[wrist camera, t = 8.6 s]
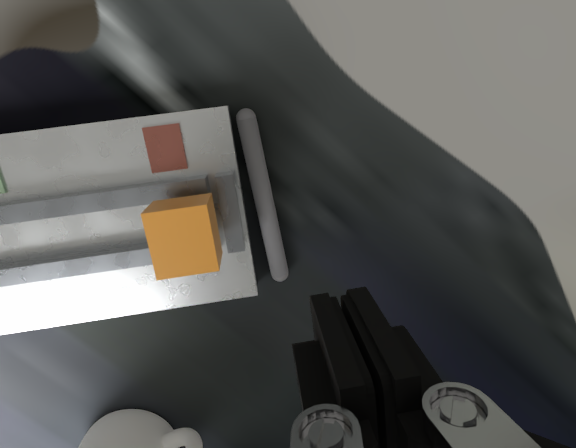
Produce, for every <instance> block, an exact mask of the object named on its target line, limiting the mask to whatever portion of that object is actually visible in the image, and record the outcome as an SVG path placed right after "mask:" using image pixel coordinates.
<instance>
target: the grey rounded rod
mask: <svg viewBox="0 0 576 448" xmlns="http://www.w3.org/2000/svg"><path fill="white" fill-rule="evenodd" d="M236 121H237V126H238V130H239V134H240V139H241V143H242V148H243V152H244V157H245V161H246V165H247V170H248V174H249V179H250V183H251V188H252V192H253V196H254V201H255V205H256V210H257V214H258V219H259V223H260V227H261V232H262V236H263V241H264V245H265V250H266V254H267V258H268V263H269V267H270V272H271V276H272V278H273V279H274V280H276V281H279V282H281V281H284V280H285V279H286V278H287V277H288V274H289V272H288V266H287V262H286V257H285V252H284V247H283V243H282V238H281V233H280V228H279V223H278V219H277V214H276V209H275V204H274V200H273V195H272V190H271V185H270V181H269V176H268V171H267V166H266V162H265V157H264V152H263V147H262V143H261V138H260V133H259V128H258V123H257V119H256V115H255V113H254V112H253V111H252V110H251V109H248V108H244V109H241V110H240V111H239V112H238V113H237V116H236Z"/></svg>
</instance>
